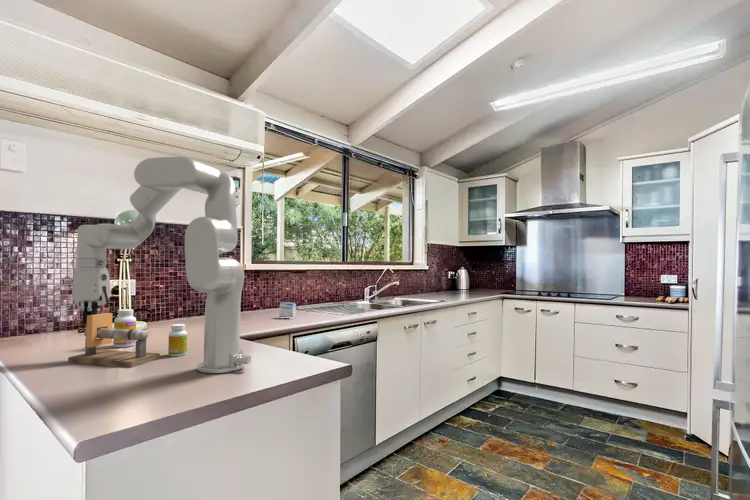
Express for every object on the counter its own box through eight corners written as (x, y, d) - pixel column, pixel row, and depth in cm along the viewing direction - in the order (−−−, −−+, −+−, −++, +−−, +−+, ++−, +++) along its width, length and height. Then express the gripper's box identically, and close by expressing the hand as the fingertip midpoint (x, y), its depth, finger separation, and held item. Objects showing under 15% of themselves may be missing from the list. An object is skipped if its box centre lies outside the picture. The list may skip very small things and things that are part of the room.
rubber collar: (111, 343, 125) (112, 313, 125) (91, 347, 118) (92, 316, 118) (106, 342, 125) (107, 312, 126) (85, 347, 118) (87, 315, 119)
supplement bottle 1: (124, 348, 137) (125, 311, 137) (108, 347, 138) (109, 310, 139) (139, 344, 143) (140, 309, 144) (124, 343, 145) (125, 308, 145)
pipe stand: (159, 358, 123) (160, 327, 124) (131, 367, 113) (132, 333, 113) (100, 354, 128) (101, 324, 128) (68, 362, 117) (69, 329, 117)
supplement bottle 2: (181, 356, 126) (182, 326, 126) (164, 356, 126) (165, 325, 126) (189, 353, 131) (190, 323, 131) (173, 352, 131) (174, 323, 132)
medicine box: (279, 319, 213) (279, 302, 214) (282, 317, 218) (282, 302, 218) (292, 319, 212) (293, 303, 212) (295, 318, 216) (296, 302, 217)
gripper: (121, 264, 126) (119, 322, 125) (82, 264, 129) (80, 321, 128) (100, 264, 118) (98, 326, 118) (59, 264, 121) (57, 324, 121)
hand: (89, 323), depth 123 cm, fingers closed
